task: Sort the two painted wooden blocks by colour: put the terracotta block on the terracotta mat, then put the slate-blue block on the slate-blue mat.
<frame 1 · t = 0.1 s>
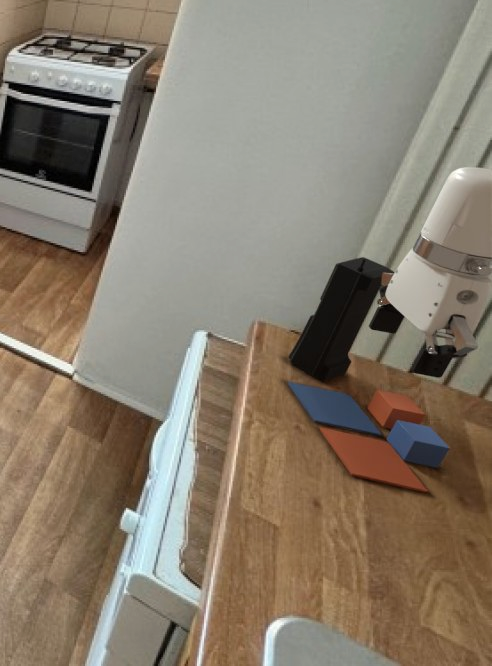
hand: (402, 351, 90), 18 cm above the countertop, tool pointing down, fingers open, 9 cm apart
tall black tower box: (316, 367, 112), on the countertop
terracotta block: (390, 420, 100), on the countertop
slate mat: (331, 408, 103), on the countertop
slate block: (411, 453, 94), on the countertop
terracotta mat: (370, 459, 93), on the countertop
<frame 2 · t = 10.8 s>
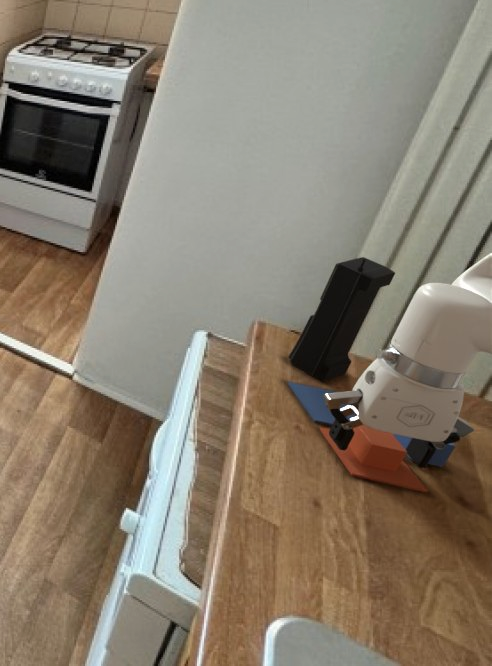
hand: (375, 451, 93), 2 cm above the countertop, tool pointing down, fingers open, 9 cm apart
terracotta block: (370, 457, 93), resting on terracotta mat
slate block: (415, 452, 94), on the countertop, tilted 6°, touching gripper
everything else where it was.
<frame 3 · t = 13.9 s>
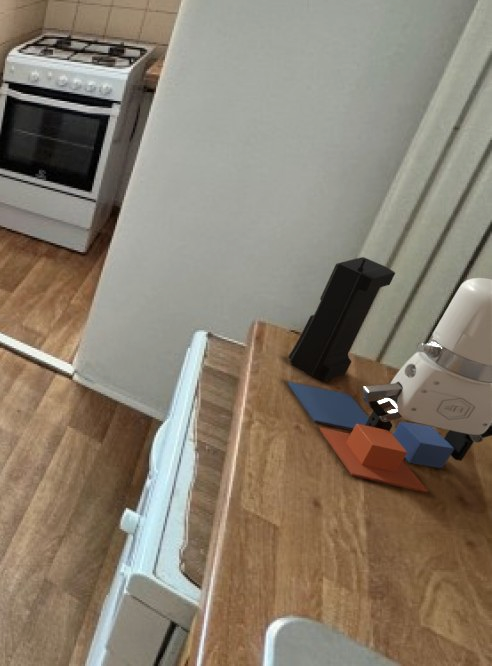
hand: (411, 443, 94), 2 cm above the countertop, tool pointing down, fingers open, 9 cm apart
terracotta block: (370, 457, 93), resting on terracotta mat, touching gripper
slate block: (415, 454, 94), on the countertop
everything else where it was.
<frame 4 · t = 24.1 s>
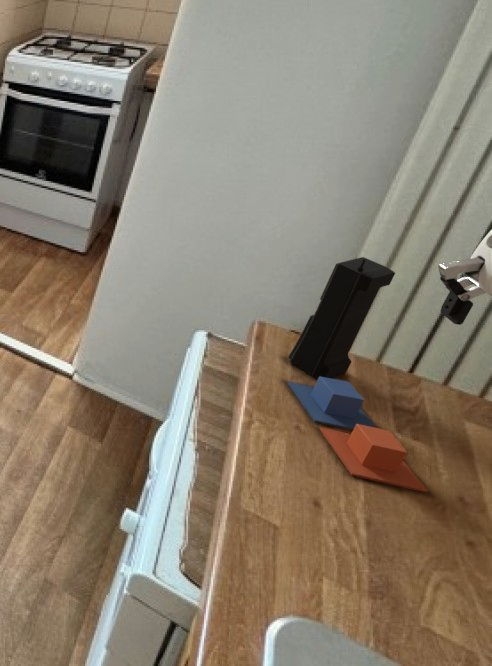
terracotta block: (370, 457, 93), resting on terracotta mat
slate block: (331, 406, 103), resting on slate mat
everything else where it was.
at the end: terracotta block inside the target area on the terracotta mat (0.1 cm from its centre), point 0.4 cm above the terracotta mat's base; slate block inside the target area on the slate mat (0.1 cm from its centre), point 0.4 cm above the slate mat's base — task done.
